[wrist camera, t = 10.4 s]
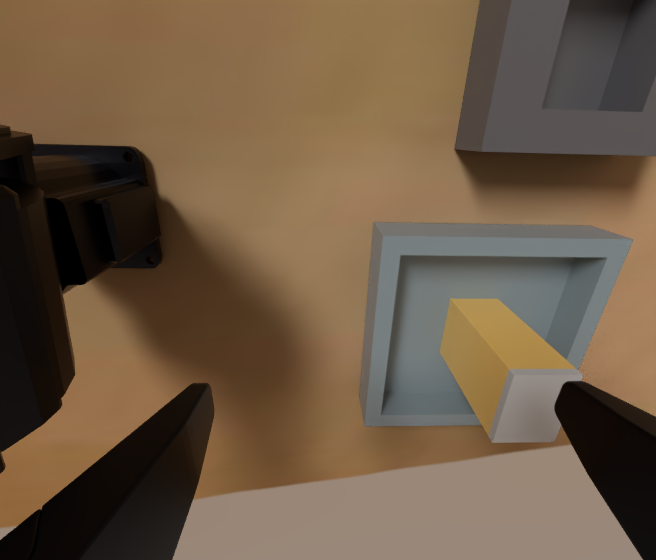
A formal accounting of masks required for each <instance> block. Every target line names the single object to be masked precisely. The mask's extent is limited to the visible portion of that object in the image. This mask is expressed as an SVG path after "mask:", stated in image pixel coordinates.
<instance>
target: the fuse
mask: <svg viewBox="0 0 656 560" xmlns="http://www.w3.org/2000/svg"><path fill="white" fill-rule="evenodd" d="M440 353H441V355H442V357H443V359H444V360H445V362H446V364H447V366H448V367H449V369H450V371H451V372H452V374H453V376H454V378H455V379H456V381H457V383H458V385H459V386H460V388H461V390H462V392H463V393H464V395H465V397H466V398H467V400H468V402H469V404H470V405H471V407H472V409H473V411H474V412H475V414H476V416H477V418H478V419H479V421H480V423H481V424H482V426H483V428H484V430H485V431H486V433H487V435H488V437H489V438H490V440H491V442H492V443H523V442H554V441H555V439H556V437H557V434H558V432H559V430H560V427H561V424H560V422H559V420H558V418H557V416H556V414H555V410H554V405H555V402H556V399H557V397H558V395H559V392H560V390H561V387H562V385H563V384H564V383H565V382H567V381H581V379H582V377H583V374H582V373H581V372H579V371H578V370H577V369H576V368H575V367H574V366H573V365H572V364H570V363H569V362H568V361H567V360H566V359H565V358H564V357H563V356H561V355H560V354H559V353H558V352H557V351H556V350H555V349H554V348H552V347H551V346H550V345H549V344H548V343H547V342H546V341H545V340H543V339H542V338H541V337H540V336H539V335H538V334H537V333H536V332H534V331H533V330H532V329H531V328H530V327H529V326H528V325H527V324H526V323H524V322H523V321H522V320H521V319H520V318H519V317H518V316H517V315H515V314H514V313H513V312H512V311H511V310H510V309H509V308H508V307H506V306H505V305H504V304H503V303H502V302H501V301H500V300H499V299H450V303H449V308H448V313H447V318H446V323H445V328H444V333H443V338H442V343H441V348H440Z"/></svg>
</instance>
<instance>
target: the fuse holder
mask: <svg viewBox="0 0 656 560" xmlns="http://www.w3.org/2000/svg"><path fill="white" fill-rule="evenodd" d="M455 149H458V150H469V151H480V152H515V153H554V154H592V155H631V156H656V0H480V3H479V9H478V15H477V21H476V27H475V33H474V38H473V44H472V50H471V56H470V62H469V68H468V74H467V79H466V85H465V91H464V97H463V103H462V109H461V115H460V120H459V126H458V132H457V138H456V144H455Z"/></svg>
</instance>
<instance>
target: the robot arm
mask: <svg viewBox="0 0 656 560" xmlns="http://www.w3.org/2000/svg"><path fill="white" fill-rule="evenodd" d="M129 152H130V153H131V154H132V155H133V157H134V160H133V162H131V161H130V160H129V159H128V157H127V155H128V153H129ZM160 235H161V232H160V226H159V221H158V216H157V211H156V206H155V200H154V195H153V191H152V190H151V189H150V188H149V187H148V182H147V177H146V172H145V167H144V162H143V157H142V154H141V152H140V151H139V150H138V149H137V148H135V147H132V146H101V145H62V144H34V143H33V137H32V134H29V133H23V132H17V131H11V130H10V127H9V126H5V125H0V473H2V472H3V470H4V469H5V463H4V460H3V457H2V454H1V452H2V451H4V450H6V449H7V448H9V447H10V446H12V445H13V444H15V443H16V442H18V441H19V440H21V439H22V438H24V437H25V436H27V435H28V434H30V433H31V432H33V431H34V430H36V429H37V428H39V427H40V426H42V425H43V424H44V423H45V422H46V421H47V420H49V419H50V418H51V417H52V416H53V415H54V414H55V413H56V412H57V411H58V410H59V409H60V408H61V406H62V400H61V398H62V397H63V396H64V394H65V393H66V391H67V389H68V387H69V385H70V383H71V381H72V380H73V378H74V376H75V362H74V354H73V349H72V343H71V338H70V332H69V327H68V321H67V316H66V310H65V304H64V299H63V294H64V293H66V292H67V291H69V290H71V289H72V288H74V287H75V286H77V285H83V284H85V283H87V282H89V281H90V280H92V279H93V278H95V277H96V276H98V275H100V274H101V273H103V272H104V271H106V270H107V269H109V268H156V267H157V266H158V265H160V264H161V262H162V254H161V249H160V244H159V237H160ZM149 256H152V257H153V258H154V259H155V262H153V261H151V260H150V259H149ZM554 410H555V414H556V416H557V418H558V420H559V422H560V424H561V425H562V427H563V429H564V431H565V433H566V435H567V437H568V438H569V440H570V442H571V444H572V446H573V448H574V450H575V452H576V453H577V455H578V457H579V459H580V461H581V463H582V464H583V466H584V468H585V469H586V472H587V473H588V475H589V477H590V478H591V480H592V481H593V483H594V485H595V486H596V488H597V489H598V491H599V492H600V494H601V496H602V497H603V499H604V500H605V502H606V503H607V505H608V506H609V508H610V510H611V511H612V513H613V514H614V516H615V517H616V519H617V520H618V522H619V523H620V525H621V527H622V528H623V530H624V531H625V532H626V534H627V536H628V537H629V539H630V540H631V542H632V544H633V545H634V547H635V548H636V549H637V551H638V553H639V554H640V556H641V557H642V559H643V560H656V417H655V416H653V415H651V414H649V413H647V412H645V411H643V410H641V409H639V408H637V407H635V406H633V405H631V404H629V403H627V402H625V401H623V400H621V399H619V398H617V397H615V396H613V395H611V394H609V393H606V392H604V391H602V390H600V389H598V388H596V387H594V386H592V385H590V384H588V383H586V382H583V381H567V382H565V383H564V384H563V385H562V387H561V390H560V392H559V395H558V397H557V399H556V402H555V405H554ZM213 418H214V404H213V397H212V391H211V387H210V385H209V384H208V383H194V384H191V385H189V386H188V387H187V388H186V389H185V390H183V391H182V392H181V393H180V394H178V395H177V396H176V397H175V398H174V399H172V400H171V401H170V402H169V403H167V404H166V405H165V406H164V407H163V408H161V409H160V410H159V411H158V412H157V413H155V414H154V415H153V416H152V417H150V418H149V419H148V420H147V421H146V422H144V423H143V424H142V425H141V426H139V427H138V428H137V429H136V430H135V431H133V432H132V433H131V434H130V435H128V436H127V437H126V438H125V439H124V440H122V441H121V442H120V443H119V444H117V445H116V446H115V447H114V448H113V449H111V450H110V451H109V452H108V453H106V454H105V455H104V456H103V457H102V458H100V459H99V460H98V461H97V462H96V463H94V464H93V465H92V466H91V467H89V468H88V469H87V470H86V471H85V472H83V473H82V474H81V475H80V476H78V477H77V478H76V479H75V480H74V481H72V482H71V483H70V484H69V485H67V486H66V487H65V488H64V489H63V490H61V491H60V492H59V493H58V494H56V495H55V496H54V497H53V498H52V499H50V500H49V501H48V502H47V503H45V504H44V505H43V507H42V510H41V509H39V510H37V511H36V512H34V513H33V514H32V515H31V516H29V517H28V518H27V519H26V520H25V521H23V522H22V523H21V524H20V525H18V526H17V527H16V528H15V529H14V530H13V531H11V532H10V533H8V534H7V535H6V536H5V537H3V538H2V539H1V540H0V560H172V558H173V556H174V553H175V550H176V547H177V544H178V541H179V538H180V535H181V533H182V530H183V527H184V524H185V521H186V518H187V515H188V512H189V509H190V506H191V503H192V501H193V498H194V495H195V492H196V489H197V485H198V482H199V478H200V474H201V470H202V466H203V462H204V457H205V453H206V449H207V444H208V440H209V436H210V431H211V427H212V423H213Z"/></svg>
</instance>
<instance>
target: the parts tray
mask: <svg viewBox="0 0 656 560" xmlns="http://www.w3.org/2000/svg"><path fill="white" fill-rule="evenodd" d="M632 242H633V239H631V238H628V237H624V236H621V235H618V234H615V233H612V232H609V231H606V230H603V229H600V228H597V227H594V226H580V225H516V224H453V223H390V222H374V224H373V236H372V248H371V260H370V272H369V284H368V296H367V308H366V320H365V332H364V344H363V356H362V368H361V380H360V392H359V397H360V403H361V409H362V415H363V421H364V427H372V426H457V425H482V424H481V423H480V421H479V419H478V418H477V416H476V414H475V412H474V411H473V409H472V407H471V405H470V404H469V402H468V400H467V398H466V397H465V395H464V393H463V392H462V390H461V388H460V386H459V385H458V383H457V381H456V379H455V378H454V376H453V374H452V372H451V371H450V369H449V367H448V366H447V364H446V362H445V360H444V359H443V357H442V355H441V353H440V348H441V343H442V338H443V333H444V328H445V323H446V318H447V313H448V308H449V303H450V299H499V300H500V301H501V302H502V303H503V304H504V305H505V306H506V307H508V308H509V309H510V310H511V311H512V312H513V313H514V314H515V315H517V316H518V317H519V318H520V319H521V320H522V321H523V322H524V323H526V324H527V325H528V326H529V327H530V328H531V329H532V330H533V331H534V332H536V333H537V334H538V335H539V336H540V337H541V338H542V339H543V340H545V341H546V342H547V343H548V344H549V345H550V346H551V347H552V348H554V349H555V350H556V351H557V352H558V353H559V354H560V355H561V356H563V357H564V358H565V359H566V360H567V361H568V362H569V363H570V364H572V365H573V366H574V367H575V368H576V369H577V370H578V369H579V367H580V364H581V362H582V360H583V357H584V355H585V353H586V350H587V348H588V346H589V343H590V341H591V338H592V336H593V334H594V331H595V329H596V327H597V324H598V322H599V320H600V317H601V315H602V313H603V310H604V308H605V305H606V303H607V301H608V298H609V296H610V294H611V291H612V289H613V287H614V284H615V282H616V280H617V277H618V275H619V272H620V270H621V268H622V265H623V263H624V261H625V258H626V256H627V254H628V251H629V249H630V247H631V244H632Z"/></svg>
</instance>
